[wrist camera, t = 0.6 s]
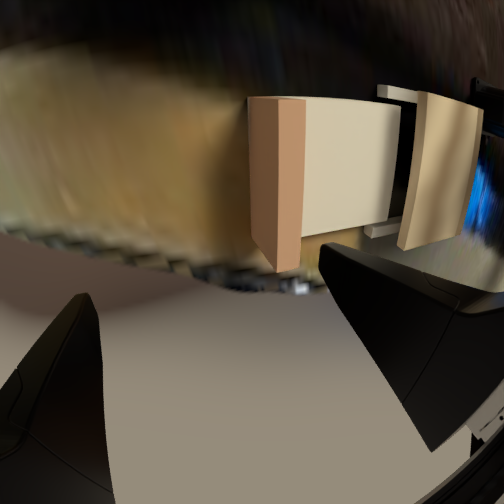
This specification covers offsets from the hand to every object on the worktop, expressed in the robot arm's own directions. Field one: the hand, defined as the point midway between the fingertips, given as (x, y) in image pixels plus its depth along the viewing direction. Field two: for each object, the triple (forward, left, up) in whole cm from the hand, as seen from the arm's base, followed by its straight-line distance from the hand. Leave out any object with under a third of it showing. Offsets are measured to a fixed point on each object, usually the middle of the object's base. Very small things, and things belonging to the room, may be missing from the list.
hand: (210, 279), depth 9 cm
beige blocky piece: (-11, 0, -12) cm, 16 cm away
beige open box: (-20, 0, -11) cm, 23 cm away
